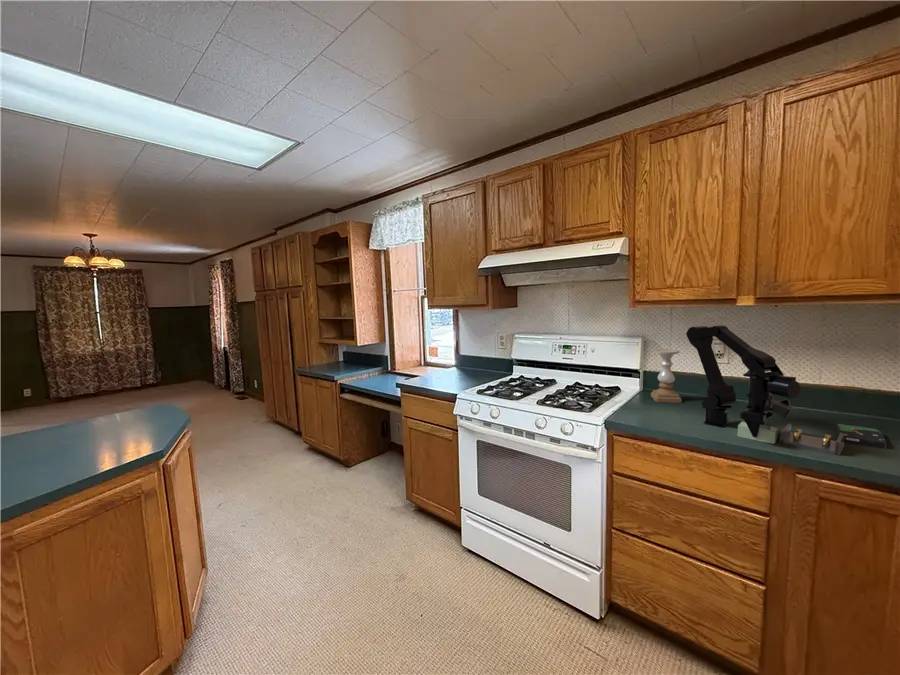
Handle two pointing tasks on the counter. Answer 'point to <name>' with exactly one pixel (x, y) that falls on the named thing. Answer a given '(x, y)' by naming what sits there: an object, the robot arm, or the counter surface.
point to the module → (759, 433)
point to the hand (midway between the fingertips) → (757, 434)
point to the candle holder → (666, 379)
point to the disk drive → (862, 436)
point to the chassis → (812, 441)
